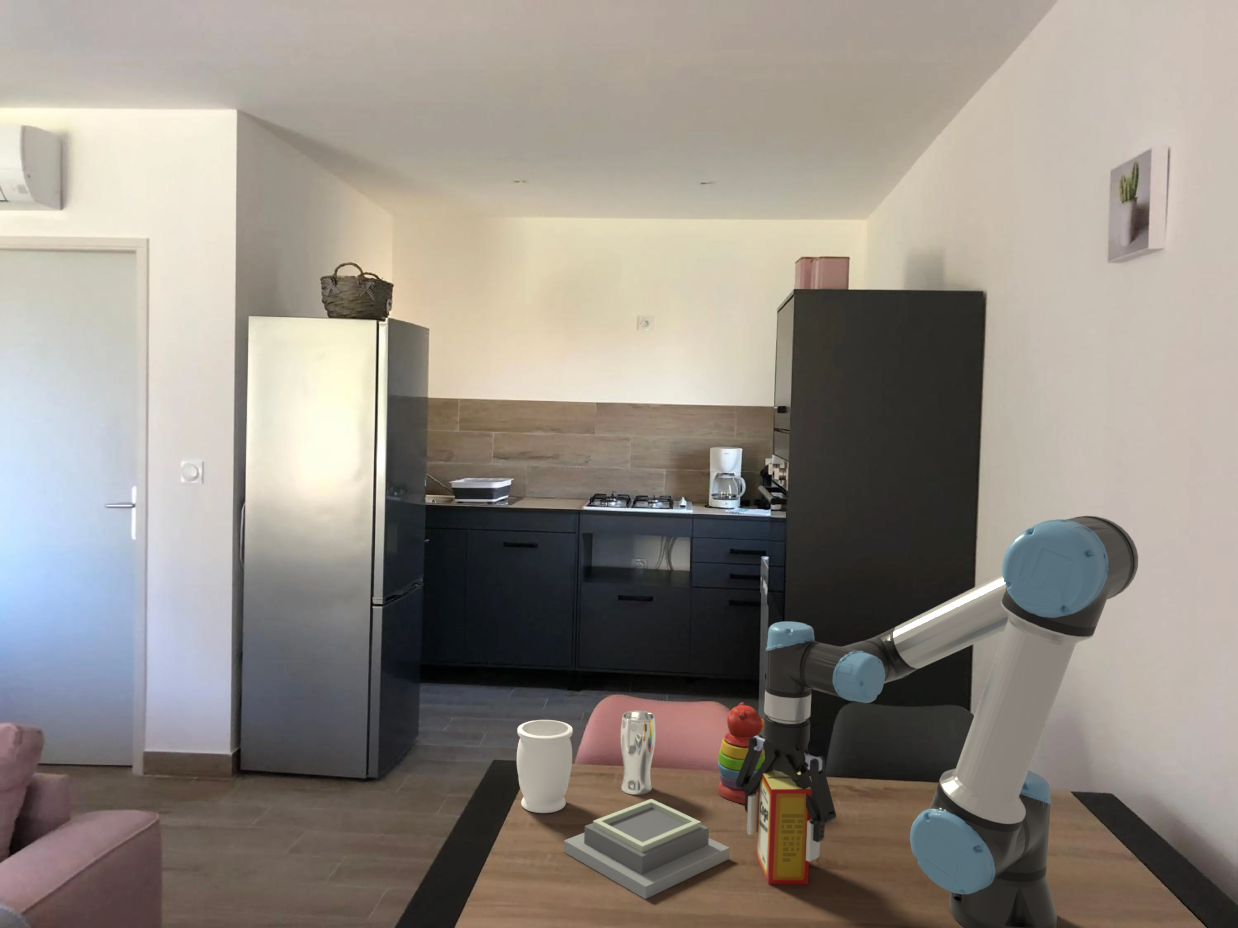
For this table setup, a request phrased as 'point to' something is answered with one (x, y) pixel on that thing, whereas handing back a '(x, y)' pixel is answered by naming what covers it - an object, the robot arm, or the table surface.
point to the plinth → (647, 847)
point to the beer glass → (637, 751)
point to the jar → (544, 764)
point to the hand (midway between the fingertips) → (782, 844)
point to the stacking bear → (737, 750)
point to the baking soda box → (782, 829)
